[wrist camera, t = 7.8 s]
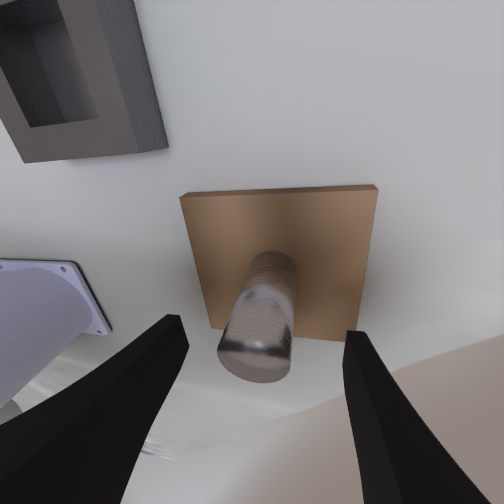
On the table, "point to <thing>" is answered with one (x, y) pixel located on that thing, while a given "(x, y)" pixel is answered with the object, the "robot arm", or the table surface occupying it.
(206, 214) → the pad
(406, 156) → the table surface
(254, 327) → the silver metal cylinder
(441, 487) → the robot arm
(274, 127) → the table surface
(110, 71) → the chuck block
